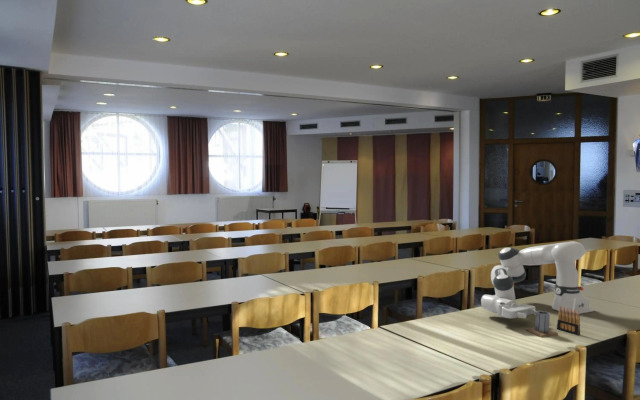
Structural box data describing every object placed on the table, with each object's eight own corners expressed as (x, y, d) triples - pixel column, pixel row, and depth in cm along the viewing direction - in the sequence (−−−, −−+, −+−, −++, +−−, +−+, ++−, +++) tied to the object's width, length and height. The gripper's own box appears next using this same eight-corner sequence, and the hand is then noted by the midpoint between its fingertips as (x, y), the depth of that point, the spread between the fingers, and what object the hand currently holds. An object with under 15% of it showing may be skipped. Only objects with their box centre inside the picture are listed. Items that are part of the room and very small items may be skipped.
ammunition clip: (556, 329, 248) (557, 305, 248) (558, 328, 249) (559, 305, 249) (578, 335, 240) (579, 311, 239) (580, 334, 241) (581, 310, 240)
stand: (542, 328, 248) (543, 311, 248) (557, 335, 239) (558, 317, 238) (526, 330, 245) (527, 312, 245) (540, 337, 236) (541, 318, 235)
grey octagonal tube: (542, 328, 246) (543, 310, 245) (551, 332, 240) (552, 314, 240) (532, 329, 244) (533, 311, 244) (541, 333, 238) (542, 314, 238)
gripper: (520, 311, 263) (544, 318, 252) (495, 316, 252) (519, 324, 240) (521, 299, 263) (545, 305, 251) (496, 304, 252) (520, 311, 240)
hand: (532, 314), depth 246 cm, fingers open, 8 cm apart
